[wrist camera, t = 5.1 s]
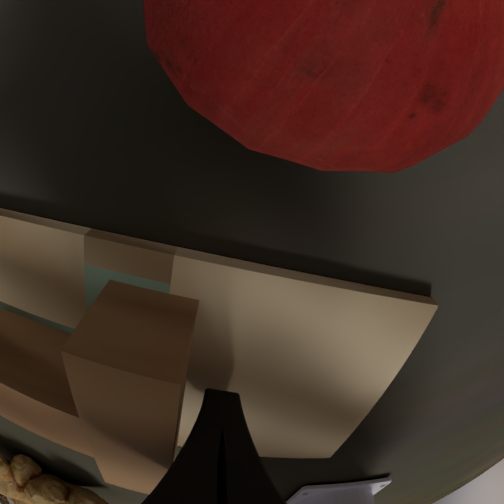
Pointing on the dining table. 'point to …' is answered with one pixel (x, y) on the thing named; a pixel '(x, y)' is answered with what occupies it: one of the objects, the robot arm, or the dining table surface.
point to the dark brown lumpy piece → (4, 499)
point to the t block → (104, 380)
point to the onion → (334, 74)
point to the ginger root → (39, 485)
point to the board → (231, 326)
